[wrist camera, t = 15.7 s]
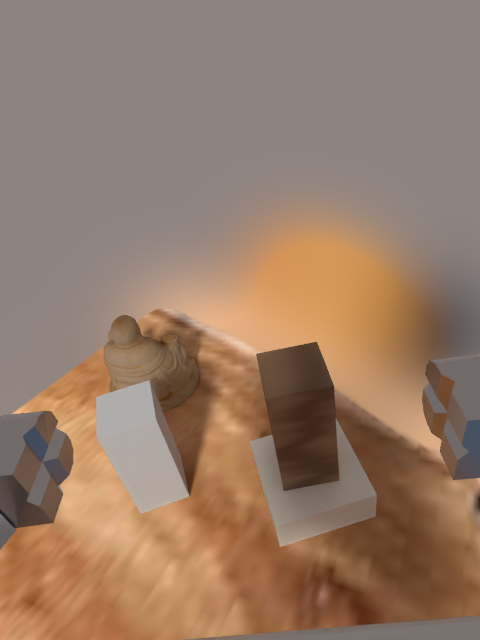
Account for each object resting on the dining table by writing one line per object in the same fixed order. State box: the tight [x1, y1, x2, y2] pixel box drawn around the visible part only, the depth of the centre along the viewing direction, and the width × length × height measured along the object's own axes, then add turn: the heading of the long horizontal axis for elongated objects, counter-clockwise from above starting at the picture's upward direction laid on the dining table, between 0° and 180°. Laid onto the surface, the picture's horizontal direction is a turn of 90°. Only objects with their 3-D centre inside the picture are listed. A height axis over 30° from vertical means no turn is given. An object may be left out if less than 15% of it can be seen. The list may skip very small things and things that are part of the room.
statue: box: [104, 315, 200, 412], centre depth 53 cm, size 12×14×10 cm
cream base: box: [250, 419, 377, 547], centre depth 41 cm, size 9×9×4 cm
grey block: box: [96, 380, 189, 514], centre depth 41 cm, size 5×5×12 cm
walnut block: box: [256, 342, 339, 491], centre depth 37 cm, size 5×5×12 cm
